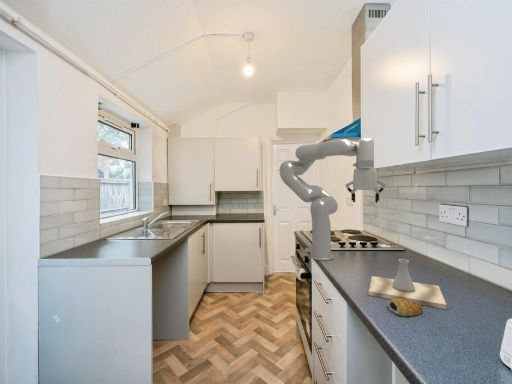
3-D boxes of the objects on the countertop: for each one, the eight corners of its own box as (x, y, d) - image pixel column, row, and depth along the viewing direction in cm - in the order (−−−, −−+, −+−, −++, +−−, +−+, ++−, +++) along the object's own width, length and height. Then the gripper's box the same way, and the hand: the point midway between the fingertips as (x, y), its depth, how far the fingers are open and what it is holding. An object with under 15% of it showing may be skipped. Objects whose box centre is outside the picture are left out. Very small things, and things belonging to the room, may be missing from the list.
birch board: (368, 295, 87) (368, 290, 87) (371, 279, 101) (371, 276, 101) (446, 309, 77) (446, 304, 77) (438, 289, 91) (438, 285, 91)
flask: (419, 293, 85) (419, 264, 85) (396, 291, 86) (396, 263, 86) (410, 284, 92) (410, 257, 92) (389, 283, 94) (389, 257, 93)
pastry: (412, 305, 80) (412, 293, 80) (429, 316, 74) (429, 303, 73) (385, 307, 79) (385, 295, 79) (399, 318, 73) (399, 306, 72)
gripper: (344, 165, 117) (344, 202, 117) (385, 164, 109) (385, 203, 109) (346, 166, 123) (346, 201, 124) (386, 165, 115) (386, 202, 116)
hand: (365, 202), depth 116 cm, fingers open, 9 cm apart
